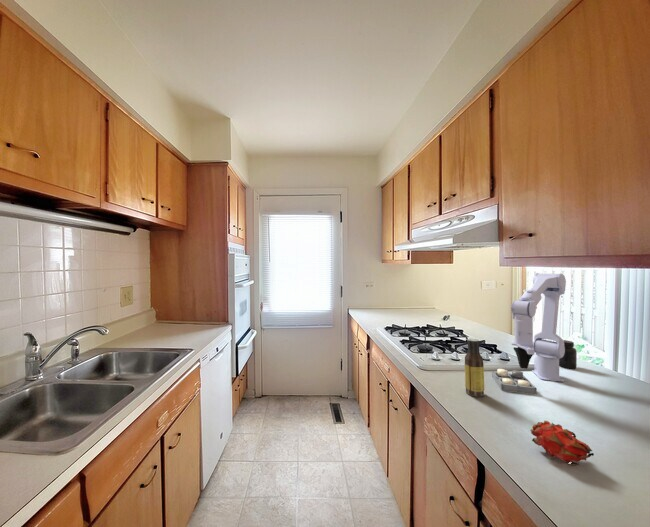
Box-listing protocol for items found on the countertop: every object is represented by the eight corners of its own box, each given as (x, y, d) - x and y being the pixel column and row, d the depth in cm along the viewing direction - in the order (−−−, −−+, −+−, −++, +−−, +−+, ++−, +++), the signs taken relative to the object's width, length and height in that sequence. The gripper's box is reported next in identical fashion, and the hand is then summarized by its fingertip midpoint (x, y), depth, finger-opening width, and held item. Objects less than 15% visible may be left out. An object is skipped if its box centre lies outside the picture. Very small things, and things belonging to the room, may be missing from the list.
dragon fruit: (526, 448, 73) (588, 480, 65) (524, 442, 68) (590, 476, 60) (534, 417, 76) (594, 444, 68) (533, 409, 71) (598, 437, 62)
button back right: (496, 373, 115) (496, 368, 115) (506, 374, 114) (506, 369, 114) (498, 376, 111) (498, 371, 111) (509, 377, 110) (509, 372, 110)
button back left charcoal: (510, 374, 113) (510, 369, 113) (520, 375, 112) (520, 370, 112) (513, 378, 110) (513, 373, 110) (524, 379, 109) (524, 374, 109)
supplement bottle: (554, 365, 130) (553, 340, 130) (561, 363, 133) (561, 338, 133) (572, 370, 124) (571, 344, 124) (579, 368, 127) (579, 342, 127)
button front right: (501, 382, 109) (501, 377, 109) (511, 383, 107) (511, 378, 107) (503, 386, 105) (503, 381, 105) (514, 387, 104) (514, 382, 104)
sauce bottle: (487, 394, 101) (487, 340, 101) (478, 399, 97) (478, 343, 97) (470, 388, 106) (470, 336, 106) (461, 392, 102) (461, 339, 103)
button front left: (516, 384, 107) (516, 379, 107) (527, 385, 106) (527, 380, 106) (519, 388, 104) (519, 382, 104) (531, 389, 102) (531, 384, 102)
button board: (492, 377, 116) (492, 371, 116) (523, 380, 113) (522, 374, 113) (501, 390, 104) (501, 384, 104) (536, 394, 101) (536, 388, 101)
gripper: (505, 327, 113) (505, 360, 113) (518, 336, 99) (518, 373, 99) (525, 328, 111) (525, 362, 111) (541, 337, 97) (541, 376, 97)
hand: (523, 367), depth 105 cm, fingers closed
